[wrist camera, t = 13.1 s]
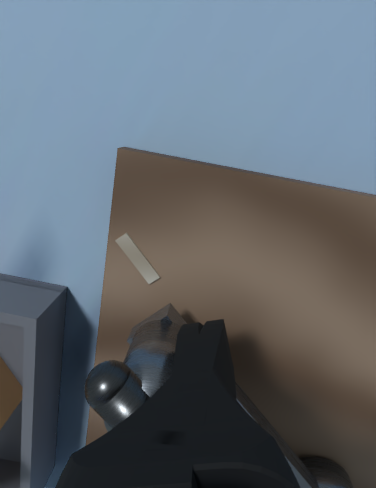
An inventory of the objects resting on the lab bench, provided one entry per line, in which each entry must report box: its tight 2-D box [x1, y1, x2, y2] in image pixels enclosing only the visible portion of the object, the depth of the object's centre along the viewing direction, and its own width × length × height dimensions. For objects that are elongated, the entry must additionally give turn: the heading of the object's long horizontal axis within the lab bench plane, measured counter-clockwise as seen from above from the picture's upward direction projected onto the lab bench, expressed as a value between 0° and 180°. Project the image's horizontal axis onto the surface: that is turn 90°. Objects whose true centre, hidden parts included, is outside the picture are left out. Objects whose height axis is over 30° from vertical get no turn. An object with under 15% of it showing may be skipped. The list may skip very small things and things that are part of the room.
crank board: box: [86, 147, 376, 488], centre depth 17 cm, size 18×16×1 cm
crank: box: [85, 303, 353, 488], centre depth 14 cm, size 16×4×6 cm, turn 37°
